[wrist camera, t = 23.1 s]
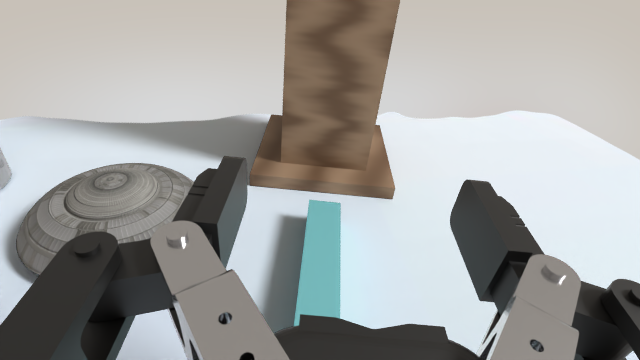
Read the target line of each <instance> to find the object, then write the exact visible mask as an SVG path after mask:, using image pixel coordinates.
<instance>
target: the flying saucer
mask: <svg viewBox="0 0 640 360" xmlns="http://www.w3.org/2000/svg"><path fill="white" fill-rule="evenodd" d="M193 183H194V182H193V181H192V180H191V179H189V178H188V177H186V176H184V175H183V174H181V173H179V172H177V171H174V170H172V169H169V168H166V167H163V166H159V165H153V164H144V163H125V164H115V165H109V166H104V167H100V168H96V169H92V170H89V171H86V172H84V173H81V174H78V175H76V176H74V177H72V178H70V179H68V180H66V181H64V182H62V183H60V184H59V185H57V186H56V187H54V188H53V189H51V190H50V191H49V192H47V193H46V194H45V195H44V196H43V197H42V198H41V199H40V200H39V201H38V202H37V203H36V204H35V205H34V206H33V207H32V208H31V210H30V211H29V213H28V214H27V215H26V217H25V219H24V220H23V222H22V224H21V226H20V229H19V232H18V236H17V240H16V248H17V253H18V256H19V258H20V259H21V261H22V262H23V264H24V265H25V266H26V267H28V268H29V269H30V270H31V271H33V272H35V273H36V274H38V275H40V274H41V273H42V272H43V270H44V269H45V268H46V267H47V265H48V264H49V263H50V261H51V260H52V259H53V258H54V256H55V255H56V254H57V253H58V251H59V250H60V249H61V248H62V246H63V245H64V244H66V243H67V242H68V241H70V240H71V239H73V238H75V237H77V236H79V235H82V234H85V233H89V232H107V233H110V234H112V235H114V236H115V237H116V239H117V241H118V244H120V243H127V242H134V241H140V240H145V239H149V238H151V237H152V235H153V233H154V232H155V231H156V230H157V229H158V228H160V227H161V226H163V225H165V224H167V223H170V222H172V220H173V218H174V217H175V215H176V213H177V211H178V210H179V208H180V206H181V204H182V203H183V201H184V199H185V197H186V196H187V195H188V192H189V190H190V189H191V187H192V185H193Z"/></svg>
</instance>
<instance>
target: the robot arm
mask: <svg viewBox="0 0 640 360" xmlns="http://www.w3.org/2000/svg"><path fill="white" fill-rule="evenodd" d="M11 175H12V173H11V170H10V168H9V165H8V163H7V161H6V159H5V157H4V155H3V153H2V151H1V149H0V190H1V189H2V188H3V187H4V186H5V185H6V184H7V183H8V182H9V180H10V179H11ZM246 203H247V164H246V159H245V158H239V157H229V156H224V157H223V159H222V161H221V163H220V165H219V167H218V169H211V168H208V169H207V170H205V171H204V172H202V173H201V174H200V175H198V176H197V178H196V180H195V182H194V183H193V185H192V187H191V189H190V190H189V192H188V195H187V196H186V197H185V199H184V201H183V203H182V204H181V206H180V208H179V210H178V211H177V213H176V215H175V217H174V218H173V220H172V222H170V223H167V224H165V225H163V226H161V227H160V228H158V229H157V230H156V231H155V232H154V233H153V235H152V237H151V238H149V239H145V240H140V241H134V242H127V243H120V244H118V241H117V239H116V237H115V236H114V235H112V234H110V233H107V232H89V233H85V234H82V235H79V236H77V237H75V238H73V239H71V240H70V241H68V242H67V243H66V244H64V245H63V246H62V248H61V249H60V250H59V251H58V253H57V254H56V255H55V256H54V258H53V259H52V260H51V261H50V263H49V264H48V265H47V267H46V268H45V269H44V270H43V272H42V273H41V274H40V275H39V277H38V278H37V279H36V281H35V282H34V283H33V284H32V286H31V287H30V288H29V290H28V291H27V292H26V293H25V295H24V296H23V297H22V298H21V300H20V301H19V302H18V304H17V305H16V306H15V307H14V309H13V310H12V311H11V313H10V314H9V315H8V316H7V318H6V319H5V320H4V321H3V323H2V324H1V325H0V360H116V358H117V356H118V353H119V351H120V349H121V347H122V344H123V342H124V340H125V338H126V336H127V333H128V331H129V329H130V327H131V325H132V322H133V320H134V318H135V316H136V315H139V314H144V313H149V312H154V311H159V310H164V309H168V312H169V314H170V317H171V319H172V322H173V324H174V327H175V329H176V332H177V334H178V337H179V339H180V342H181V344H182V347H183V349H184V352H185V354H186V357H187V360H626V358H625V357H626V356H627V355H628V354H629V353H631V352H632V351H634V352H635V354H636V355H637V357H638V358H639V360H640V284H639V283H637V282H634V281H631V280H626V279H617V280H615V281H613V282H612V283H611V284H610V286H609V287H608V288H607V289H604V288H601V287H598V286H595V285H592V284H589V283H586V282H583V281H580V278H579V276H578V275H577V273H576V272H575V271H574V270H573V269H572V268H571V267H570V266H568V265H567V264H566V263H564V262H563V261H561V260H559V259H557V258H554V257H552V256H548V255H545V254H544V253H543V251H542V250H541V248H540V247H539V245H538V244H537V242H536V241H535V239H534V238H533V236H532V235H531V233H530V232H529V230H528V228H527V227H525V224H524V222H523V221H522V219H521V218H519V215H518V213H517V212H516V210H515V209H514V207H513V206H512V205H511V204H510V203H509V202H507V201H506V200H505V199H504V198H503V197H501V196H498V195H497V194H496V192H495V191H494V189H493V187H492V186H491V184H490V183H489V182H486V181H476V180H466V181H464V183H463V185H462V187H461V189H460V192H459V194H458V197H457V199H456V202H455V204H454V207H453V209H452V212H451V216H450V226H451V229H452V232H453V234H454V237H455V239H456V242H457V245H458V247H459V250H460V252H461V255H462V257H463V260H464V262H465V265H466V267H467V270H468V272H469V275H470V277H471V280H472V282H473V285H474V288H475V290H476V293H477V295H478V298H479V300H480V301H487V302H494V303H495V305H496V307H497V311H496V313H495V314H494V316H493V318H492V321H491V323H490V325H489V327H488V329H487V331H486V334H485V336H484V338H483V340H482V342H481V344H480V347H479V349H478V351H477V353H476V354H475V353H473V352H472V351H470V350H469V349H467V348H466V347H464V346H462V345H460V344H458V343H456V342H454V341H451V340H448V337H447V334H446V330H445V327H440V326H428V325H417V324H405V325H399V326H393V327H387V328H381V329H370V328H367V327H364V326H361V325H358V324H355V323H352V322H349V321H346V320H343V319H339V318H336V317H327V316H315V315H304V314H300V320H299V325H298V326H292V327H289V328H285V329H282V330H280V331H278V332H275V333H273V332H272V330H271V329H270V327H269V325H268V324H267V322H266V320H265V319H264V317H263V316H262V314H261V312H260V311H259V309H258V308H257V306H256V304H255V303H254V301H253V300H252V298H251V296H250V295H249V293H248V291H247V290H246V288H245V287H244V285H243V283H242V282H241V280H240V279H239V277H238V275H237V274H236V273H235V271H234V270H232V269H231V270H228V271H227V270H226V266H227V263H228V260H229V257H230V254H231V251H232V248H233V245H234V242H235V239H236V236H237V233H238V230H239V226H240V223H241V220H242V217H243V214H244V211H245V208H246Z"/></svg>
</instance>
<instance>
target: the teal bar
mask: <svg viewBox="0 0 640 360" xmlns="http://www.w3.org/2000/svg"><path fill="white" fill-rule="evenodd" d="M300 314H304V315H315V316H327V317H336V318H339V319H340V203H335V202H325V201H316V200H309V207H308V215H307V223H306V231H305V239H304V247H303V255H302V264H301V272H300V280H299V288H298V296H297V304H296V312H295V320H294V326H298V325H299V320H300Z"/></svg>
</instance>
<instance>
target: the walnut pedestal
mask: <svg viewBox="0 0 640 360" xmlns="http://www.w3.org/2000/svg"><path fill="white" fill-rule="evenodd" d="M399 4H400V0H287V8H286V9H287V10H286V34H285V61H284V89H283V115H282V116H281V115H271V117H270V120H269V122H268V125H267V128H266V131H265V133H264V136H263V139H262V142H261V145H260V147H259V150H258V153H257V156H256V158H255V161H254V164H253V167H252V170H251V172H250V185H251V186H261V187H272V188H282V189H293V190H303V191H313V192H324V193H334V194H345V195H355V196H366V197H376V198H387V199H392V198H393V195H394V191H395V186H394V182H393V178H392V173H391V169H390V165H389V161H388V157H387V153H386V149H385V145H384V141H383V137H382V133H381V129H380V125H375V124H376V119H377V114H378V109H379V103H380V99H381V94H382V89H383V83H384V78H385V74H386V69H387V64H388V59H389V54H390V49H391V44H392V38H393V34H394V29H395V23H396V18H397V13H398V9H399Z"/></svg>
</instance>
